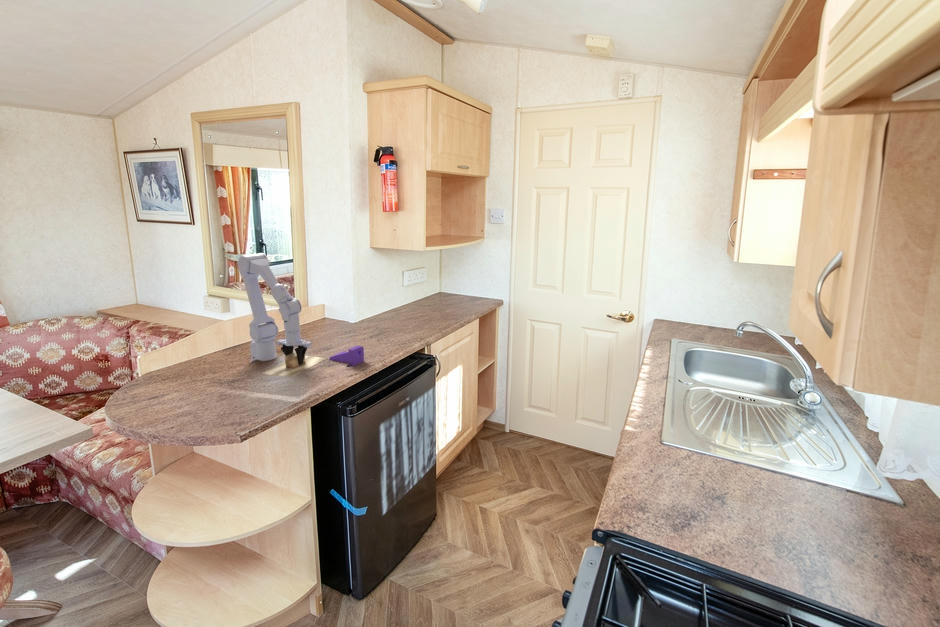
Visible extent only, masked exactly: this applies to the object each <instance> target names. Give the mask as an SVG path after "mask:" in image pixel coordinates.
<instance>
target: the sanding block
mask: <svg viewBox="0 0 940 627" xmlns="http://www.w3.org/2000/svg"><path fill="white" fill-rule="evenodd" d="M305 356H306V355H305ZM305 356H304V361H303V364H304V363H306V362H305ZM284 362H285V363H286V368H296V367H298V366H300V365H299V364H298V358H297V354H296V352H295V351H293V353H291V354H289V355H287V356H284ZM301 365H302V364H301Z"/></svg>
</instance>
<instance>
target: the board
mask: <svg viewBox="0 0 940 627" xmlns="http://www.w3.org/2000/svg"><path fill="white" fill-rule="evenodd" d="M325 359H326V357H320V356H319V357H318V356H309V355H305V362H306V363H304V364H302V365H300V366H298V367H296V368H286V363H285V361H283V362H281V363H279V364H277V365H275V366H273V367H271V368H270V369H268V370H265V371H264V372H262V373H261V374H262V375H270V376H277V377H278V376H280V377H286V378H287V377H288V378H294V377H297V375H299V374H302V373H303V372H305V371H307V370H308V369H310V368H311V367H313V366H315V365H317V364H318V363H320V362H322V361H324V360H325Z"/></svg>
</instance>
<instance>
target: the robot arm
mask: <svg viewBox="0 0 940 627" xmlns="http://www.w3.org/2000/svg"><path fill="white" fill-rule="evenodd" d="M236 264H237V267H238V268H237V269H238V270H239V275H240V277H241V278H242V281H243V283H244V287H245V291H246V294H247V298H248V302H249V305H250V309H251V313H252V316H253V319H252V320H251V321H250V323H249V324H248V327H249V336H250V338H251V340H252V341H251V342H250V344H249V350H250V357H251V360H249V361H250V363H252V362H255V361H261V362H263V361H264V362H265V361H267V362H268V361H273V360H275V359H277V348H276V346H282V347H280V350H281V352H282V353H283V354H284V355H285V356H287V355H289V354H291V353H293V352H296V354H297V358H298V364H299V365H301V364H303V361H304V356H306V353H307V351H308V349H310V348H312V342H311V341H307V340H304V339H302V333H301V332H302V331H301V324H300V314H299V313H300V312H301V311H302V304H301V302H300V300H299V299H297V298H295V297H294V296H292V295H291V294H290V292H289V291H288V289H287V288H286V287H285V285H284V284H281V283H279V281H278V279H277V278H276V276H275V275H274V273H273V271H272V269H271V268H270V260H269V258H268V256H267V255H266V254H265V253H264V252H259V253H254V254H246V255H240V256H239V257H238V260H237V262H236ZM259 276H260V277H261V278H262V280H263V281H264V282H265V283H266V284H267V286H268V287H269V288H270V290H269V291H270V295H271V296H272V298H273V299H274V300H275V302H276V304H277V305H278V306H279V308H278V312H279V314H280V316H281V319H282V321H283V326H284V327H283V328H284V335H285V336H284V337H285V339H284V338H282V339H277V336H278V334H279V327H278V325H277V324H276V321H275V319H274V317H272V316H270V315H269V314H268V311H267V308H266V305H265V301H264V298H263V293H262V289H261V287H260V286H261V285H260V282H259V279H258V277H259ZM276 339H277V340H276ZM294 347H295V348H294ZM285 356H284V357H285Z"/></svg>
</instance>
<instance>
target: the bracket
mask: <svg viewBox="0 0 940 627" xmlns="http://www.w3.org/2000/svg"><path fill="white" fill-rule="evenodd" d="M364 351H365V350H364V347H363V346H362V345H355V346H353V347H351V348H349V349H348V351H346V350H344V351H340V352H338V353H336V354H334V355H332V356H329V360H330V361H336V362H341V363H347V364H348V366H350V367H355V366H357V365H359V364H361V363H364V362H365V354H364V353H365V352H364Z"/></svg>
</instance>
